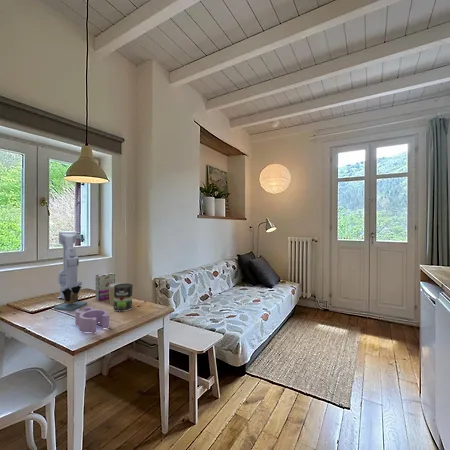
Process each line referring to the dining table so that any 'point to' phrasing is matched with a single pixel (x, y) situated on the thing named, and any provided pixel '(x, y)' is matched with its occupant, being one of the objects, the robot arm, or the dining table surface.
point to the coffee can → (122, 297)
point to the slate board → (70, 306)
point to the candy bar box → (104, 285)
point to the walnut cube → (72, 298)
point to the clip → (91, 319)
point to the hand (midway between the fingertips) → (71, 299)
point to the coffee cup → (112, 293)
